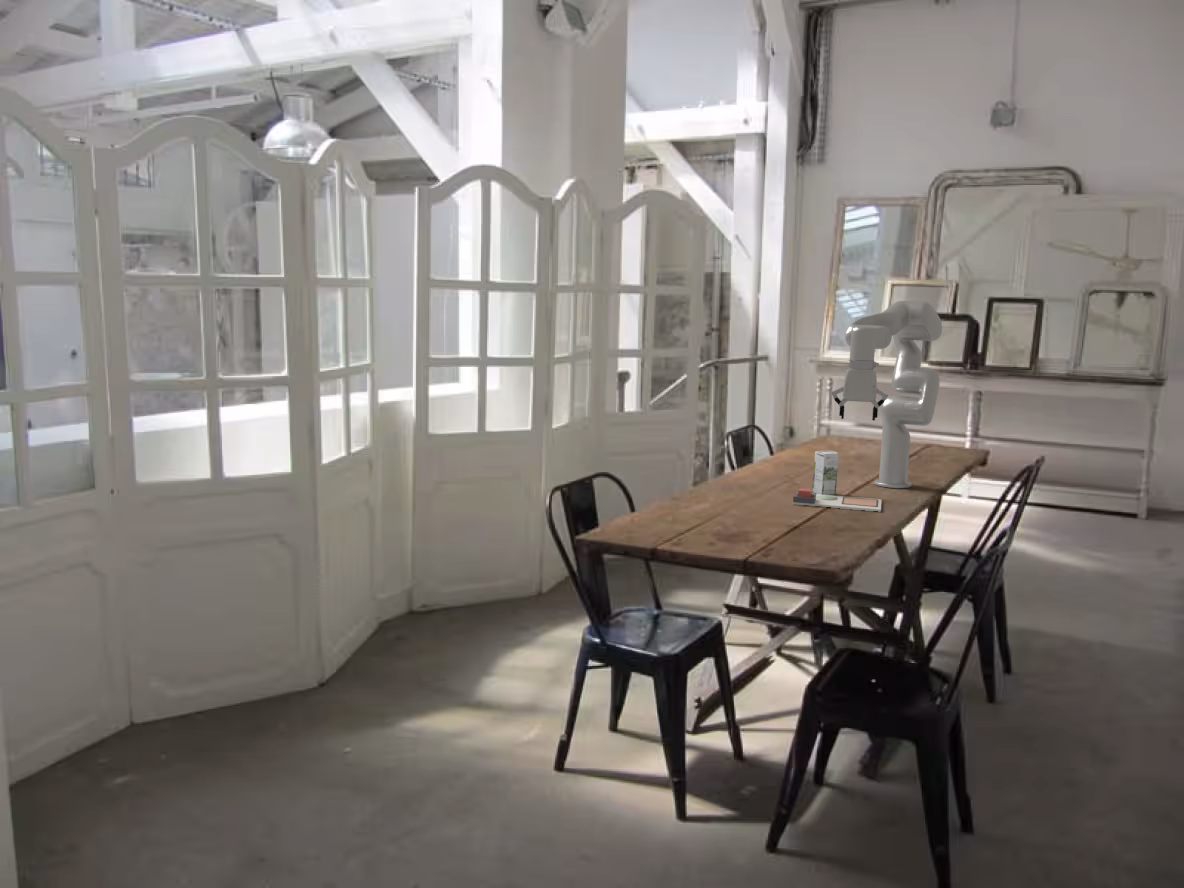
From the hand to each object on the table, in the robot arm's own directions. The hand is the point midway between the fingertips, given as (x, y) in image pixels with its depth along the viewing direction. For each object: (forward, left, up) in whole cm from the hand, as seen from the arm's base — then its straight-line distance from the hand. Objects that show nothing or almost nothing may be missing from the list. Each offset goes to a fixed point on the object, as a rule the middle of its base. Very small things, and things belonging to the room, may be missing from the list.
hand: (857, 419), depth 313 cm
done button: (+9, -15, -24) cm, 30 cm away
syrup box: (-8, -10, -27) cm, 30 cm away
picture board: (+5, -5, -27) cm, 28 cm away
